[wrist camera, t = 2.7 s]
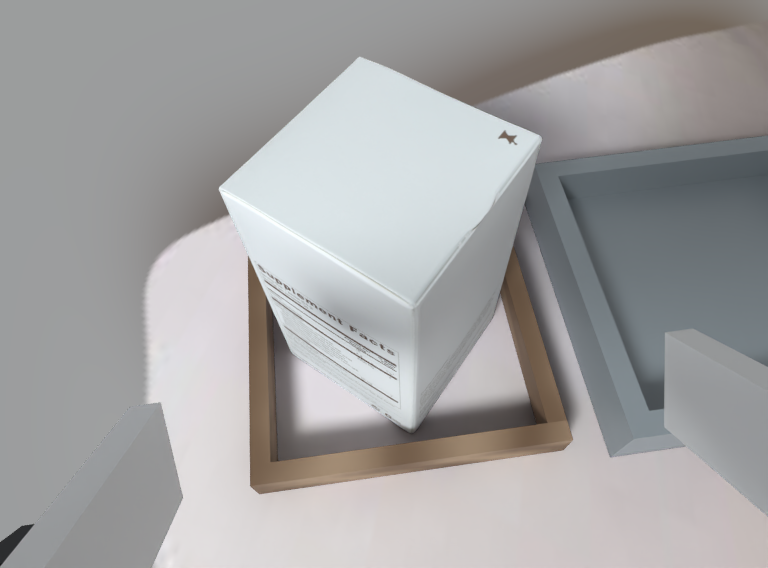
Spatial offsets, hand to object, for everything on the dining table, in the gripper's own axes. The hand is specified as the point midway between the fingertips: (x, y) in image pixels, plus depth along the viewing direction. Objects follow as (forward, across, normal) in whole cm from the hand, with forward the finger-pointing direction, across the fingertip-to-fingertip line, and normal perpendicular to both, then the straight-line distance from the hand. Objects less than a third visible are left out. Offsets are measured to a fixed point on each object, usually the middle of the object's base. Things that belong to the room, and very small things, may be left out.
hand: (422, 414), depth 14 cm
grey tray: (+18, +19, -4) cm, 27 cm away
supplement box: (+18, 0, -4) cm, 19 cm away
